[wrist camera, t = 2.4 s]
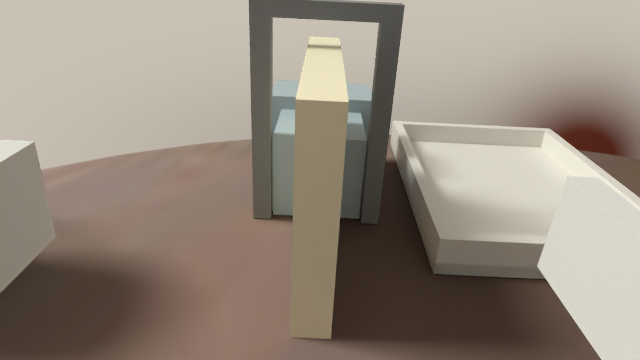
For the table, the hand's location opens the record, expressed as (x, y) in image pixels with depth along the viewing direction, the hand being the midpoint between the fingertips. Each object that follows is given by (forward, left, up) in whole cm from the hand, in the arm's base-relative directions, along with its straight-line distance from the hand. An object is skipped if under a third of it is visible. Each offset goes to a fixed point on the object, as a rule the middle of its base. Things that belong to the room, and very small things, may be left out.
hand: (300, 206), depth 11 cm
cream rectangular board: (0, -14, -11) cm, 18 cm away
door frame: (0, -23, -11) cm, 26 cm away
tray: (-15, -22, -11) cm, 29 cm away
